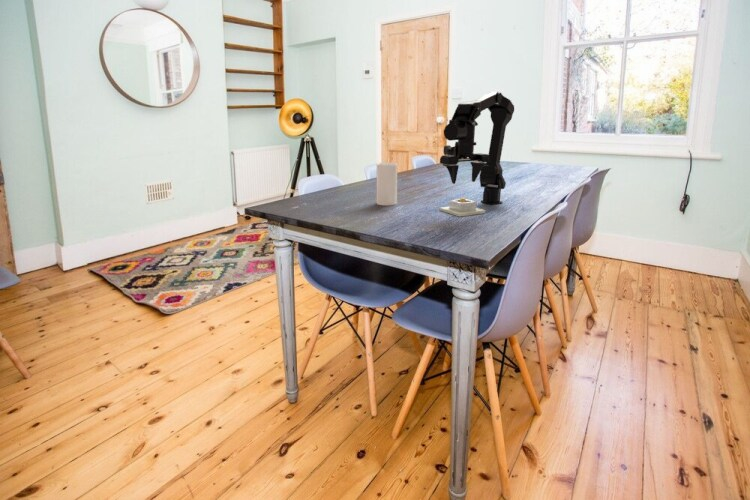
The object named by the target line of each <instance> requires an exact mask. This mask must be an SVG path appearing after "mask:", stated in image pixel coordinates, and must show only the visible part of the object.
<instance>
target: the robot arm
mask: <svg viewBox="0 0 750 500" xmlns="http://www.w3.org/2000/svg"><path fill="white" fill-rule="evenodd" d="M486 109H487V110H488V111H489V113H490V115H489V116H490V120H491V122H492V124H493V125H492V131H491V135H490V142H489V149H488V153H481V152H478V153H474V148H475V146H477V141H475V134H476V133H475V132H476V127H477V126H479V125H478V124H479V123H478V122H477V121H476V120H477V119H478V118H479V117H480V116H481V114H482V112H483V111H484V110H486ZM514 113H515V105H514V104H513V102H512V100H510V98H507V97H506V96H504V95H503V93H502V92H500V91H488V92H487V93H486V94H484V95H483V96H481V97H477V98H476V99H475V100H472V101H471V100H470V101H462V102H461V101H460V102H459V103H458V104H457V107H456V108H455V110H454V113H453V115H452V117H451V119H449V121H448V124H446V125H445V127H444V129H443V135H444V138H445V139H446V140H447V141H455V143H454V146H451V145H450V144H449V145H444V146H443V155H441V156H440V158H439V164H442V166H444V167H445V168H446V169H447V171H448V173H449V177H450V179H451V184H453V185H455V184H456V181H457V177H458V171H459V163H461V162H462V163H463V162H470V165H471V183H472V182H473V183H475V182H476V180H477V178H478V176H479V185H480V187H481V188H483V193H482V200H480V202H481V203H484V204H488V205H497V204H502V203H503V200H501V194H502V193H501V191H502V190H504V189H505V188H506V184H507V182H506V181H505V178H504V176H503V172H504V170H503V168H502V165H501V157H502V151H503V146H504V139H505V135H506V134H505V133H506V128H507V126H508V124H509V123H510V122H511V120H512V118H513V115H514Z"/></svg>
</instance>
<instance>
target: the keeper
mask: <svg viewBox="0 0 750 500" xmlns="http://www.w3.org/2000/svg"><path fill="white" fill-rule="evenodd" d="M459 199H460V202H461V203H464V202H466V199H467V198H465V197H461V198H459ZM439 211H440V212H444V213H448V214H450V215H454V216H457V217H460V218H461V217H468V216H473V215H474V216H475V215H481V214H485V213H486V209H482V208H479V207H476V210H470V211H463V212H460V211H457V210H454V209H450V208H449V206H442V207H439Z"/></svg>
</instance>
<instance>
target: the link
mask: <svg viewBox="0 0 750 500" xmlns="http://www.w3.org/2000/svg"><path fill="white" fill-rule="evenodd" d="M448 207H449V208H450V209H454V210H457V211H460V212H463V211H470V210H476V208H477V201H474V200H472V199H467V198H466V202H464V203H461V202H460V198H458V199H450V200H449V205H448Z"/></svg>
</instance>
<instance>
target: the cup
mask: <svg viewBox="0 0 750 500" xmlns="http://www.w3.org/2000/svg"><path fill="white" fill-rule="evenodd" d="M376 204H377V205H379V206H395V205H397V204H398V163H396V162H378V163H376Z"/></svg>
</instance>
